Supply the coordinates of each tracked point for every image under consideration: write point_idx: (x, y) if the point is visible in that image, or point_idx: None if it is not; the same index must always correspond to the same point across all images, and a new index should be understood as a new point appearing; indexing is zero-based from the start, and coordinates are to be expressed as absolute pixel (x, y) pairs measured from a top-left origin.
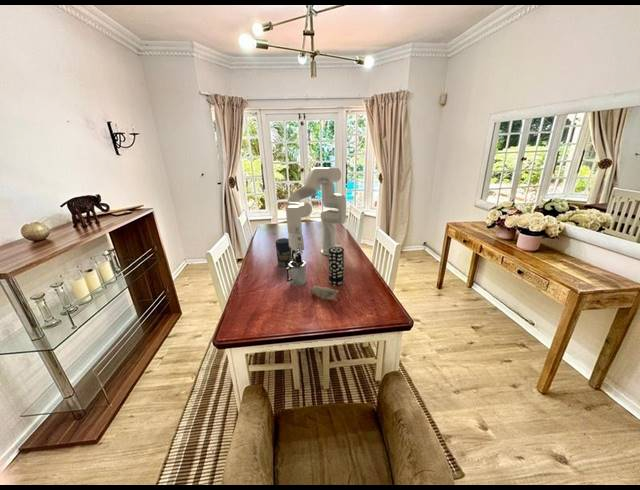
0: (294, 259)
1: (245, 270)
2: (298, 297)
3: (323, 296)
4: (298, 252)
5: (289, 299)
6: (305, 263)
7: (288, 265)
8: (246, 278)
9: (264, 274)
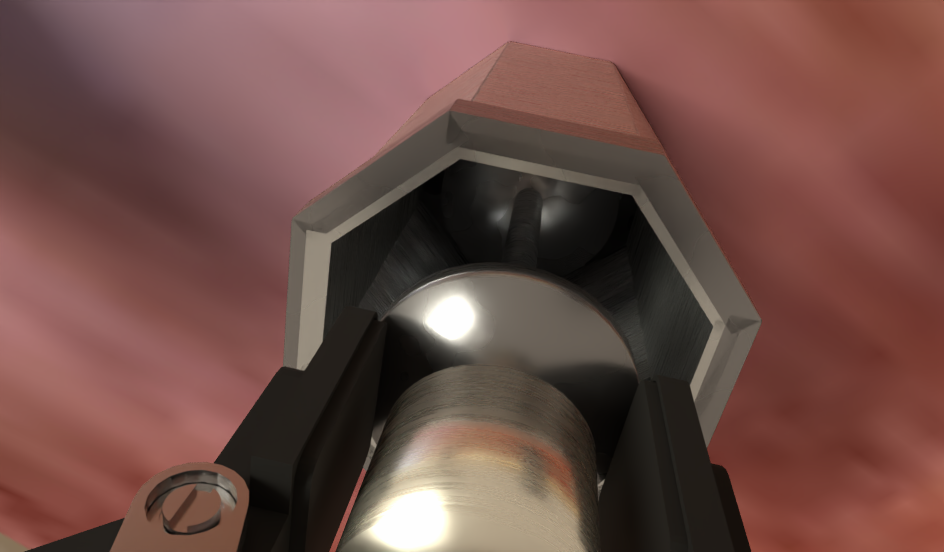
0: (384, 406)
1: None
2: (836, 406)
3: None
4: (445, 529)
5: (769, 487)
6: (686, 192)
7: None
8: (41, 514)
9: (41, 353)
